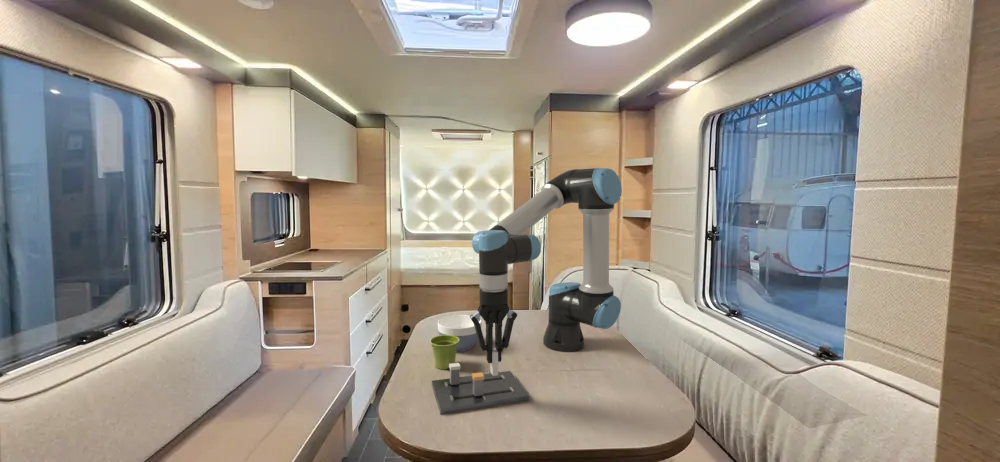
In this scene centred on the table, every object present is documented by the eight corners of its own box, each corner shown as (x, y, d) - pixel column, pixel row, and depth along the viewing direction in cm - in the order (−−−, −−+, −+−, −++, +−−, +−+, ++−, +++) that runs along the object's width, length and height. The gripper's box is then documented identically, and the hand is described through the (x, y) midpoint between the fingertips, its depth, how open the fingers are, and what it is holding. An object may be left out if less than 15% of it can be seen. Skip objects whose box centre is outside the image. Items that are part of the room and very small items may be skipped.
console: (509, 375, 124) (509, 369, 124) (529, 400, 109) (529, 394, 109) (431, 385, 117) (431, 379, 116) (440, 414, 101) (440, 407, 101)
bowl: (489, 344, 149) (490, 319, 149) (463, 359, 136) (463, 331, 135) (456, 336, 158) (456, 312, 157) (428, 348, 145) (428, 322, 144)
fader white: (458, 380, 116) (458, 362, 116) (460, 384, 114) (460, 366, 113) (448, 381, 115) (449, 363, 115) (450, 385, 113) (450, 367, 112)
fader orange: (481, 391, 110) (481, 372, 109) (483, 395, 108) (484, 376, 107) (471, 392, 109) (471, 373, 109) (473, 396, 107) (473, 377, 106)
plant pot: (454, 373, 125) (454, 346, 124) (425, 370, 127) (425, 343, 126) (462, 361, 134) (463, 336, 133) (436, 358, 136) (436, 333, 135)
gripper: (512, 283, 113) (512, 364, 115) (466, 287, 109) (467, 370, 111) (521, 289, 105) (521, 376, 108) (473, 294, 102) (474, 383, 104)
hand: (494, 373), depth 110 cm, fingers closed
